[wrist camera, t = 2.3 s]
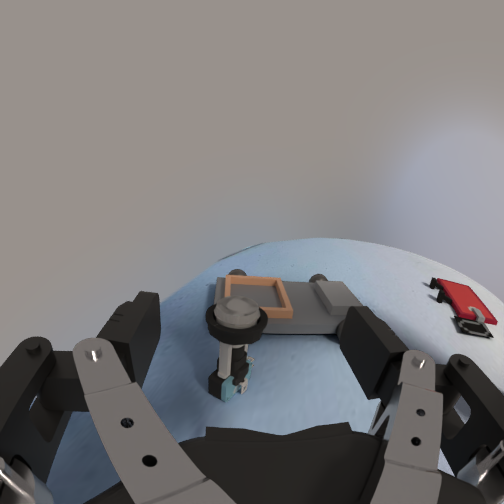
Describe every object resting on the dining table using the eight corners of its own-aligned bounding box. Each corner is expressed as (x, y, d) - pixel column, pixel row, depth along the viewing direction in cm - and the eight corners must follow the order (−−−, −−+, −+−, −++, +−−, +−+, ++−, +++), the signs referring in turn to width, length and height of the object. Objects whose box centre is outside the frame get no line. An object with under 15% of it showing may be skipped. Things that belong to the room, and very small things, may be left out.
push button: (231, 358, 30) (237, 281, 27) (272, 376, 28) (286, 298, 25) (195, 389, 25) (192, 306, 22) (239, 413, 22) (248, 330, 19)
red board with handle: (452, 334, 36) (507, 344, 31) (458, 320, 35) (513, 332, 30) (424, 279, 63) (467, 290, 58) (427, 270, 62) (470, 281, 57)
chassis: (332, 292, 51) (337, 272, 50) (369, 343, 34) (378, 319, 33) (217, 286, 49) (218, 265, 48) (210, 343, 32) (211, 317, 31)
